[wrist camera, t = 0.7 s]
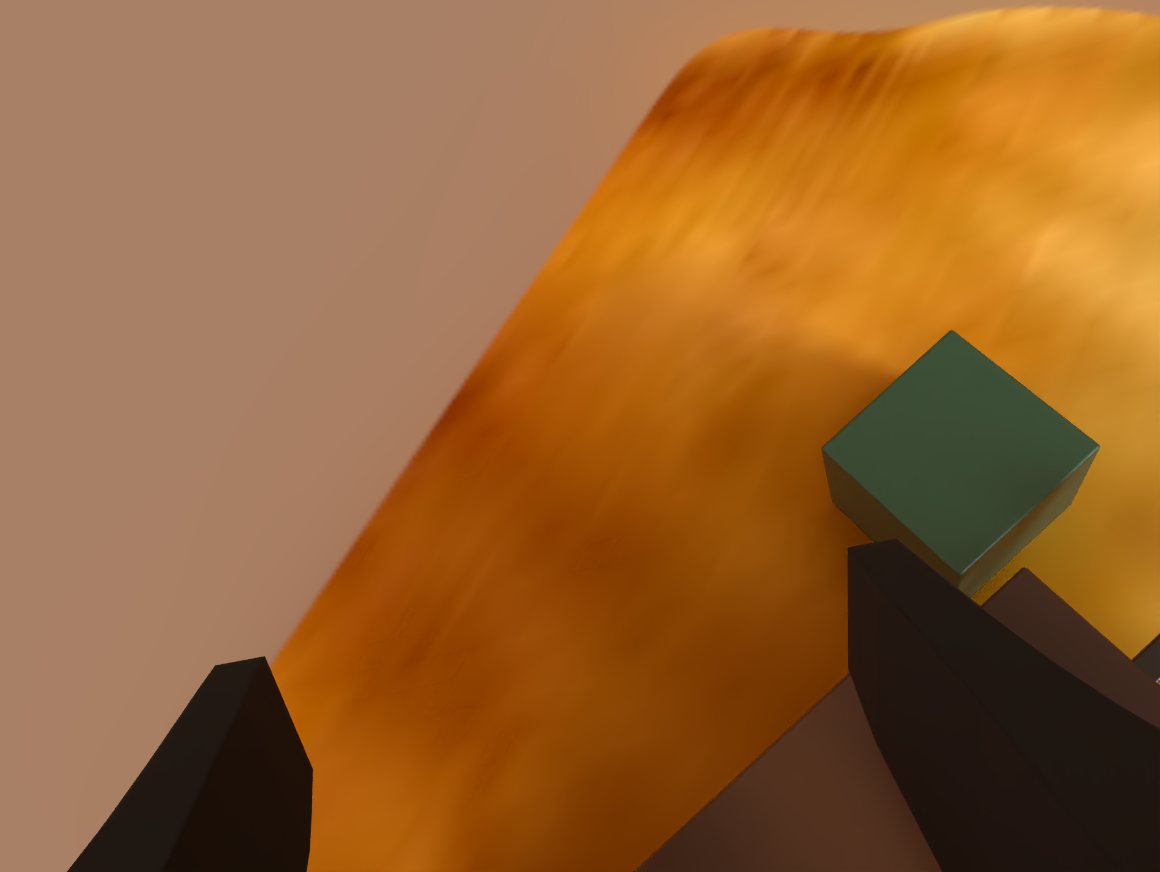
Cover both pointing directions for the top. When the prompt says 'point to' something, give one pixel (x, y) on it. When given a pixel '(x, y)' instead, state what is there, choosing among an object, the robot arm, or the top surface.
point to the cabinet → (806, 806)
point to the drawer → (1079, 644)
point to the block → (957, 464)
